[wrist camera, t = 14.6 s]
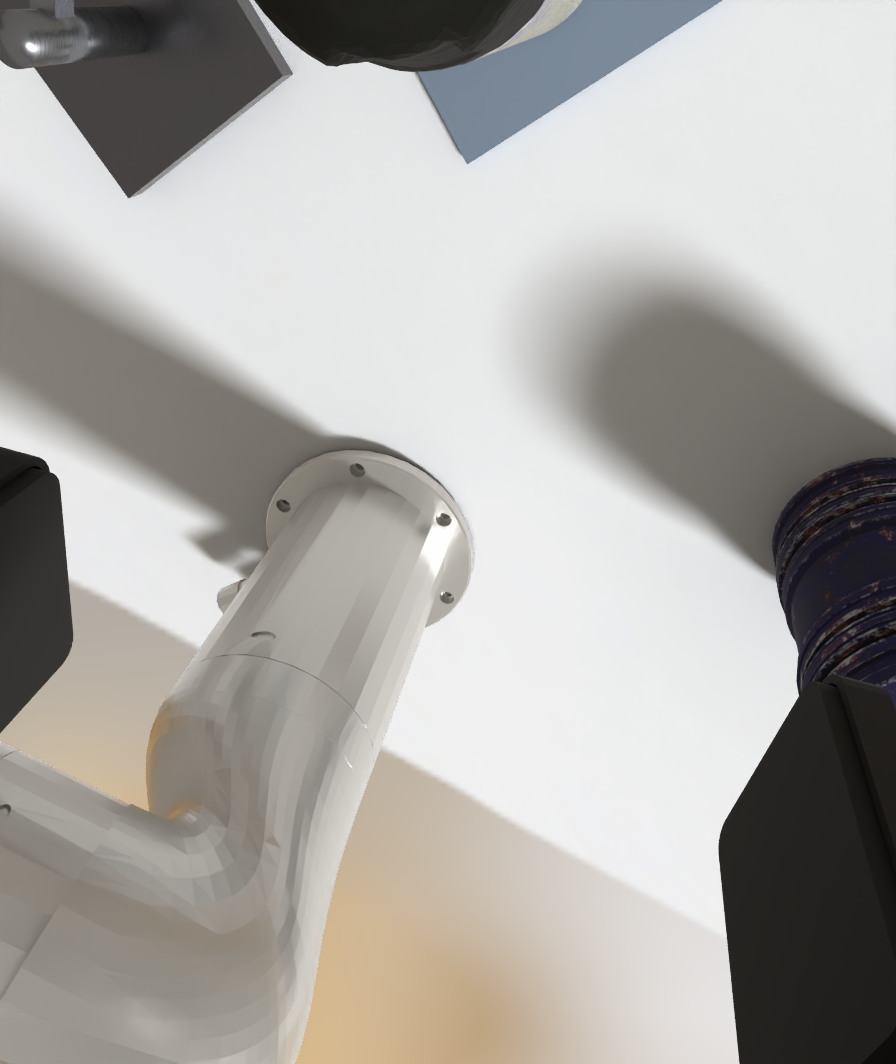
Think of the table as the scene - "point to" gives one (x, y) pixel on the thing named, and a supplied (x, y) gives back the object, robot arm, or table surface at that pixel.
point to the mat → (548, 68)
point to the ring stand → (144, 73)
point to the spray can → (412, 29)
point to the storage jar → (841, 574)
